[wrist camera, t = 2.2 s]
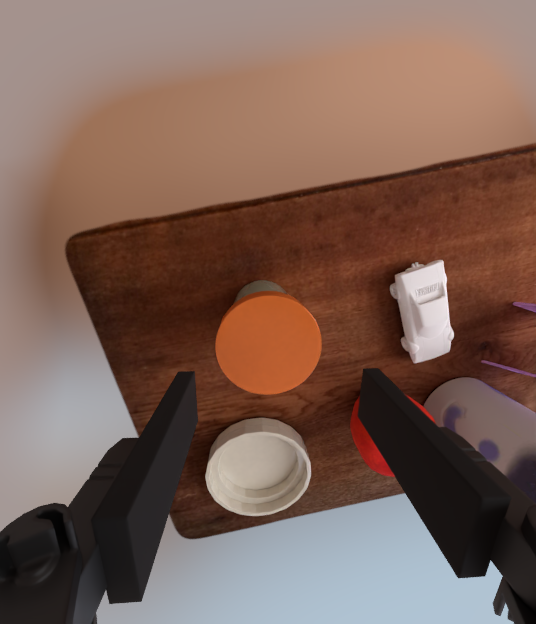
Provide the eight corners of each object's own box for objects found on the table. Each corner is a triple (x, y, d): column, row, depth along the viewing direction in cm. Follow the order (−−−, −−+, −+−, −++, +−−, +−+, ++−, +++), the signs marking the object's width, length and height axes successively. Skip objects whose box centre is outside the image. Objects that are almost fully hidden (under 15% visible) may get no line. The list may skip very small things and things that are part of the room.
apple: (324, 415, 33) (347, 467, 25) (364, 362, 31) (401, 400, 23) (377, 442, 34) (412, 497, 27) (417, 393, 33) (467, 437, 25)
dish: (192, 473, 34) (187, 494, 31) (239, 399, 31) (238, 415, 28) (274, 505, 36) (276, 528, 33) (324, 439, 34) (331, 457, 31)
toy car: (403, 360, 31) (420, 374, 28) (384, 270, 28) (401, 273, 25) (444, 346, 31) (467, 358, 28) (430, 254, 28) (454, 255, 25)
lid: (200, 355, 19) (195, 366, 18) (248, 270, 18) (248, 273, 16) (283, 395, 21) (286, 410, 19) (333, 320, 19) (342, 328, 18)
